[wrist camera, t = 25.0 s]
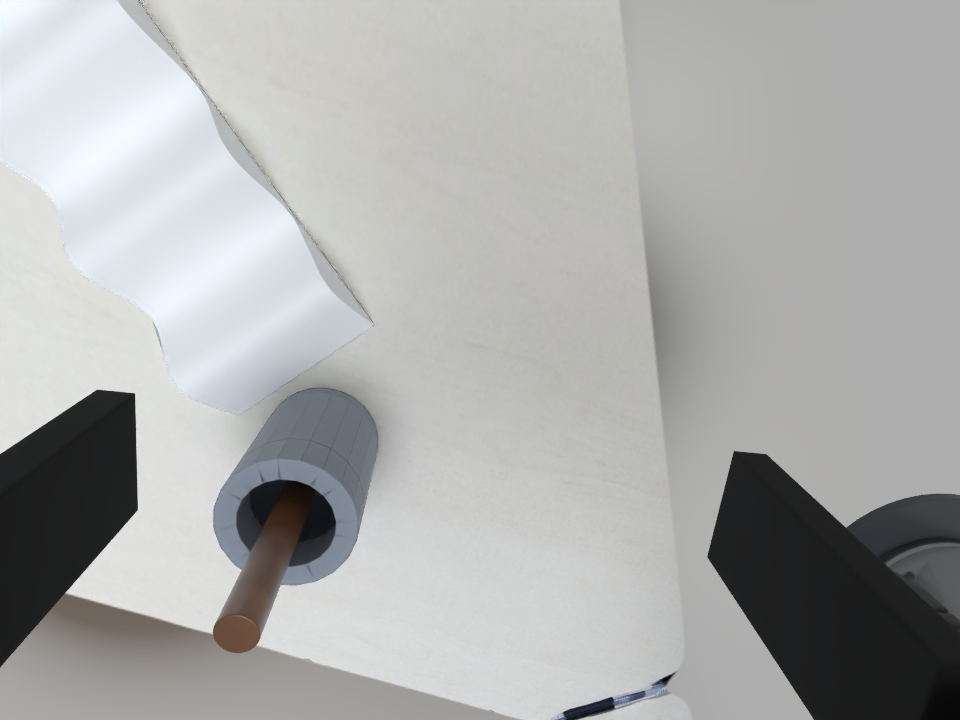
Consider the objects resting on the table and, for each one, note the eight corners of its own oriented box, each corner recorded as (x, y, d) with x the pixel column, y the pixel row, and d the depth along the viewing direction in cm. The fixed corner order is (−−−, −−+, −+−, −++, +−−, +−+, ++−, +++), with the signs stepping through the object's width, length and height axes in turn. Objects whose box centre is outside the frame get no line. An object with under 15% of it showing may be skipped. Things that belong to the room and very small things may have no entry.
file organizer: (238, 415, 53) (216, 441, 48) (-109, -2, 43) (-181, -22, 38) (374, 325, 51) (366, 342, 46) (44, -128, 42) (-10, -166, 37)
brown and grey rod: (347, 423, 52) (281, 601, 31) (343, 469, 53) (277, 671, 32) (295, 418, 52) (193, 595, 31) (293, 464, 53) (192, 666, 32)
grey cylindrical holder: (382, 393, 53) (363, 466, 40) (373, 493, 55) (353, 590, 43) (269, 382, 52) (214, 452, 40) (265, 483, 55) (212, 580, 42)
